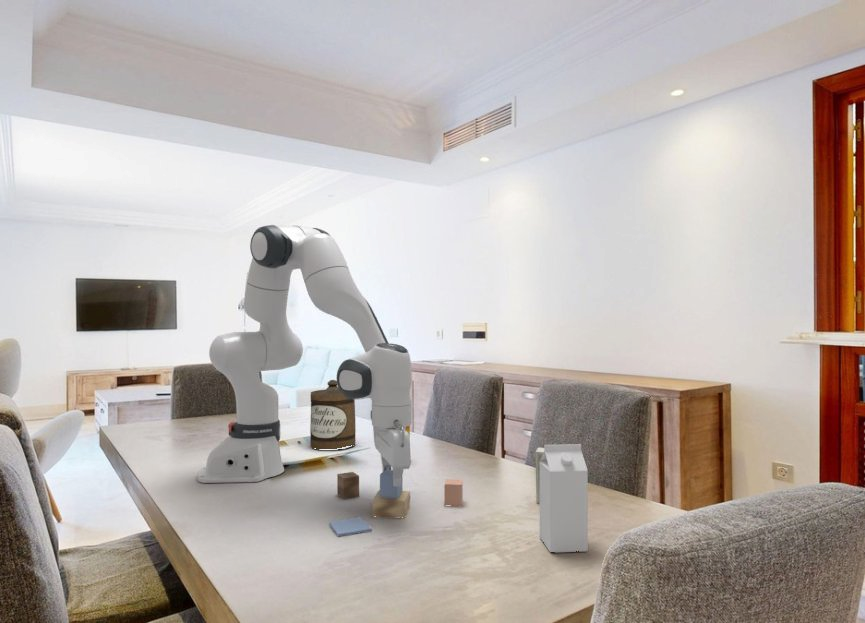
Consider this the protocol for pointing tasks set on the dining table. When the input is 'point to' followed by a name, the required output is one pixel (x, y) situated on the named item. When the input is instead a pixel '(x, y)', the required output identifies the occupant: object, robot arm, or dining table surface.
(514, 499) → the dining table surface
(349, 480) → the walnut cube
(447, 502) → the terracotta cube
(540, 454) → the skincare box
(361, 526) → the tile
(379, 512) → the oak base
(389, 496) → the blue cube
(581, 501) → the milk carton
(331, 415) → the wooden container
